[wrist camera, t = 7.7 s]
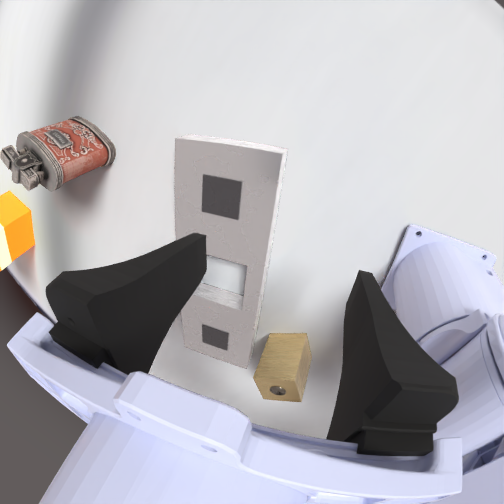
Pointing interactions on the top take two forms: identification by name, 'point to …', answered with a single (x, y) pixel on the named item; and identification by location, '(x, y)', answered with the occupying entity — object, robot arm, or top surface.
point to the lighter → (58, 153)
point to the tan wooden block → (284, 367)
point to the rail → (227, 235)
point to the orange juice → (14, 229)
